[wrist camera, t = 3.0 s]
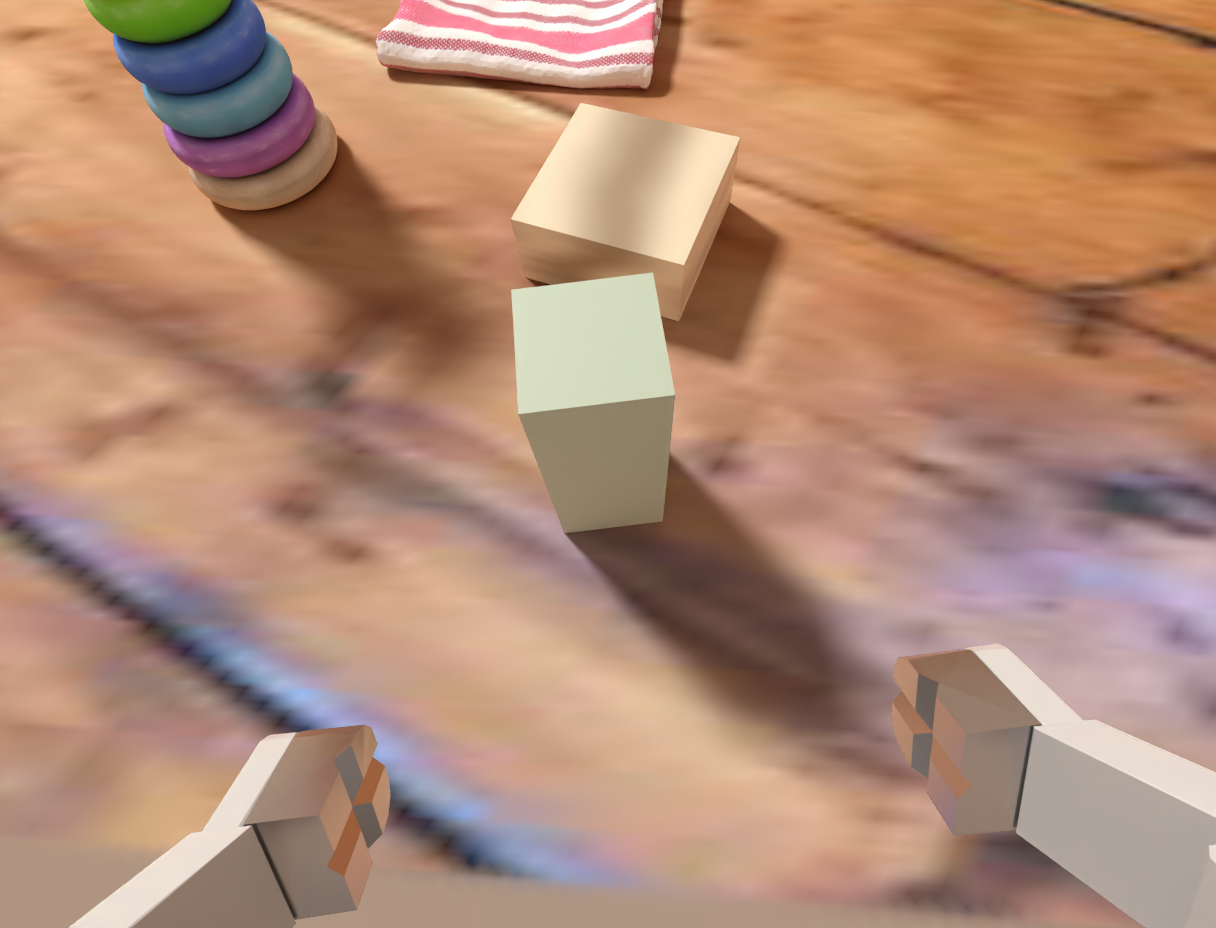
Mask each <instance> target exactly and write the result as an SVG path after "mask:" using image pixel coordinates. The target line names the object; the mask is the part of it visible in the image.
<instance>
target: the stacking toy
mask: <svg viewBox="0 0 1216 928" xmlns="http://www.w3.org/2000/svg"><path fill="white" fill-rule="evenodd" d="M84 2H85V4H86V6H87V8H88V10H89V11H90V12H91V14H92V15H93V17H94V18H95V19H96V20H97V21H98V22H99V23H100V24H101V25H102V26H104V27H105V28H106V29H108V30H109V31H110V32H112V33H113V41H114V47H115V51H116V53H117V55H118V57H119V60H120V61H121V63H122V64H123V66H124V67H125V68H126V69H127V71H128V72H129V73H130V74H131V75H132V76H133V77H135V78H136V79H137V80H138V81H140V82H141V83H142V87H143V94H144V96H145V99H146V101H147V103H148V105H149V107H150V108H151V110H152V111H153V112H154V113H155V115H156V116H157V117H158V118H159V119H160V120H161V121H162V122H163V123H164V133H165V137H166V140H167V142H168V144H169V146H170V148H171V149H172V151H173V152H174V153H175V155H176V156H177V157H178V158H179V159H180V160H181V161H182V162H183V163H185V164H186V165H188V169H189V173H190V175H191V178H192V180H193V181H194V183H195V184H196V186H197V187H198V188H199V190H200V191H201V192H202V193H203V194H205V195H206V196H207V197H208V198H209V199H211V200H212V201H214V202H216V203H218V204H220V205H223V206H225V207H229V208H233V209H239V210H262V209H268V208H273V207H277V206H280V205H283V204H286V203H289V202H291V201H293V200H295V199H297V198H299V197H301V196H303V195H304V194H306V193H307V192H309V191H311V190H312V189H313V188H314V187H315V186H317V185H318V184H319V183H320V182H321V181H322V180H323V179H324V178H325V176H326V175H327V174H328V172H329V171H330V169H331V167H332V165H333V163H334V161H335V158H336V154H337V147H338V144H337V135H336V131H335V128H334V126H333V124H332V122H331V120H330V119H329V117H328V116H327V115H326V113H325V112H324V111H323V110H322V109H321V108H319V107H318V106H317V105H315V104H314V103H313V100H312V97H311V95H310V93H309V91H308V90H307V88H306V86H305V85H304V83H303V82H302V81H301V80H300V79H299V78H298V77H297V76H296V75H295V74H293V72H292V65H291V62H290V59H289V56H288V54H287V52H286V51H285V49H284V47H283V46H282V45H281V43H280V42H279V41H278V40H277V39H276V38H275V37H274V36H273V35H271V34H270V33H269V32H267V31H266V29H265V24H264V20H263V18H262V15H261V13H260V11H259V10H258V8H257V6H256V5H255V4H254V2H253V1H252V0H84Z"/></svg>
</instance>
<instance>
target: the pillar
mask: <svg viewBox="0 0 1216 928" xmlns="http://www.w3.org/2000/svg"><path fill="white" fill-rule="evenodd" d="M511 291H512V309H513V327H514V345H515V363H516V380H517V398H518V414H519V417H520V420H521V422H522V425H523V427H524V430H525V433H526V435H527V438H528V440H529V443H530V445H531V448H532V451H533V453H534V456H535V458H536V461H537V464H538V466H539V469H540V471H541V474H542V476H543V479H544V482H545V484H546V487H547V489H548V492H549V494H550V497H551V500H552V502H553V505H554V507H555V510H556V513H557V515H558V518H559V520H560V523H561V525H562V528H563V531H564V533H572V532H581V531H589V530H597V529H605V528H613V527H622V526H630V525H638V524H646V523H655V522H663V515H664V504H665V494H666V484H667V473H668V463H669V453H670V442H671V432H672V422H673V411H674V401H675V392H674V386H673V381H672V375H671V370H670V364H669V359H668V353H667V347H666V342H665V336H664V331H663V325H662V320H661V314H660V309H659V303H658V298H657V292H656V286H655V281H654V275H653V273H645V274H637V275H629V276H621V277H612V278H604V279H596V280H588V281H580V282H572V283H563V284H555V285H547V286H539V287H531V288H523V289H514V290H511Z"/></svg>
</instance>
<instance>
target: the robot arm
mask: <svg viewBox="0 0 1216 928" xmlns="http://www.w3.org/2000/svg"><path fill="white" fill-rule="evenodd" d="M894 680H895V682H896V683H897V685H898V686H899V687H900V689H901V690H902V691H901V692H900V693H899V694H898V696H897V697H896V698H895V699H894V701H893V702H892V723H893V727H894V732H895V736H896V740H897V742H898V744H899V747H900V749H901V751H902V753H903V755H904V757H905V758H906V760H907V762H908V763H909V765H910V767H911V768H913V769H914V770H916V771H918V772H919V773H921V774H922V775H924V776H926V777H927V778H928V790H927V794H928V795H929V797H930V799H931V800H932V802H933V803H934V805H935V807H936V808H937V810H938V811H939V813H940V814H941V816H942V818H943V819H944V821H945V822H946V824H947V826H948V827H949V829H950V830H951V832H952V833H953V835H962V834H973V833H983V832H994V831H1004V830H1015V829H1017V830H1016V833H1017V834H1018V835H1020V836H1021V837H1023V838H1024V839H1025V840H1027V841H1028V842H1029V843H1031V844H1032V845H1033V846H1035V847H1036V848H1038V849H1039V850H1040V851H1042V852H1043V853H1044V854H1046V855H1047V856H1048V857H1050V858H1051V859H1053V860H1054V861H1055V862H1057V863H1058V864H1059V865H1061V866H1062V867H1063V868H1065V869H1066V870H1068V871H1069V872H1070V873H1072V874H1073V875H1074V876H1076V877H1077V878H1078V879H1080V880H1081V881H1083V882H1084V883H1085V884H1087V885H1088V886H1089V887H1091V888H1092V889H1093V890H1095V891H1096V892H1098V893H1099V894H1100V895H1102V896H1103V897H1104V898H1106V899H1107V900H1108V901H1110V902H1111V903H1113V904H1114V905H1115V906H1117V907H1118V908H1119V909H1121V910H1122V911H1123V912H1125V913H1126V914H1128V915H1129V916H1130V917H1132V918H1133V919H1134V920H1136V921H1137V922H1138V923H1140V924H1141V925H1143V926H1144V927H1145V928H1216V772H1213V771H1211V770H1209V769H1207V768H1204V767H1202V766H1200V765H1197V764H1195V763H1193V762H1191V761H1188V760H1186V759H1184V758H1181V757H1179V756H1177V755H1175V754H1172V753H1170V752H1168V751H1165V750H1163V749H1161V748H1159V747H1156V746H1154V745H1152V744H1149V743H1147V742H1145V741H1143V740H1140V739H1138V738H1136V737H1133V736H1131V735H1129V734H1127V733H1124V732H1122V731H1120V730H1118V729H1115V728H1113V727H1111V726H1108V725H1106V724H1104V723H1102V722H1099V721H1097V720H1086V721H1083V720H1082V719H1081V718H1080V717H1079V716H1078V715H1077V714H1076V713H1075V712H1074V711H1073V710H1072V709H1071V708H1070V707H1069V706H1068V705H1067V704H1066V703H1065V702H1064V701H1062V700H1061V699H1060V698H1059V697H1058V696H1057V695H1056V694H1055V693H1054V692H1053V691H1052V690H1051V689H1050V688H1049V687H1048V686H1047V685H1046V684H1045V683H1044V682H1042V681H1041V680H1040V679H1039V678H1038V677H1037V676H1036V675H1035V674H1034V673H1033V672H1032V671H1031V670H1030V669H1029V668H1028V667H1027V666H1026V665H1025V664H1024V663H1022V662H1021V661H1020V660H1019V659H1018V658H1017V657H1016V656H1015V655H1014V654H1013V653H1012V652H1011V651H1010V650H1009V649H1008V648H1006V647H1005V646H1002V645H1000V644H998V643H996V644H989V645H982V646H975V647H969V648H964V649H958V650H951V651H943V652H936V653H928V654H921V655H914V656H906V657H899V658H898V659H897V662H896V664H895V667H894ZM376 747H377V741H376V739H375V736H374V733H373V731H372V728H371V727H369V726H366V725H358V726H348V727H338V728H329V729H319V730H309V731H301V732H296V733H286V734H276V735H269V736H268V737H266V738H265V739H263V740H262V741H260V742H259V744H258V745H257V747H256V748H255V750H254V751H253V753H252V755H251V756H250V758H249V759H248V761H247V762H246V764H245V765H244V767H243V769H242V770H241V772H240V773H239V775H238V776H237V778H236V779H235V781H234V783H233V784H232V786H231V787H230V789H229V790H228V792H227V793H226V795H225V797H224V798H223V800H222V801H221V803H220V804H219V806H218V807H217V809H216V811H215V812H214V814H213V815H212V817H211V818H210V820H209V821H208V823H207V825H206V826H205V828H204V829H203V831H202V832H196V833H191V834H189V835H188V836H187V837H185V838H184V839H183V840H182V841H180V842H179V843H178V844H176V845H175V846H174V847H172V848H171V849H170V850H169V851H167V852H166V853H165V854H163V855H162V856H161V857H159V858H158V859H157V860H156V861H154V862H153V863H152V864H150V865H149V866H148V867H147V868H145V869H144V870H143V871H141V872H140V873H139V874H138V875H136V876H135V877H134V878H132V879H131V880H130V881H128V882H127V883H126V884H125V885H123V886H122V887H121V888H119V889H118V890H117V891H115V892H114V893H113V894H112V895H110V896H109V897H108V898H106V899H105V900H104V901H102V902H101V903H100V904H99V905H97V906H96V907H95V908H93V909H92V910H91V911H89V912H88V913H87V914H86V915H84V916H83V917H82V918H81V919H79V920H78V921H76V922H75V923H74V924H73V925H71V926H70V927H69V928H293V927H294V925H295V924H296V922H295V920H297V919H303V918H310V917H316V916H323V915H329V914H335V913H341V912H348V911H354V910H357V909H358V905H359V903H360V900H361V896H362V894H363V891H364V888H365V885H366V882H367V879H368V876H369V873H370V870H371V867H372V864H373V862H372V859H371V856H370V854H369V851H368V848H369V847H370V846H371V845H372V844H373V843H374V842H375V841H376V840H377V839H378V838H379V837H380V836H381V835H382V834H383V831H384V828H385V824H386V821H387V818H388V813H389V804H390V785H389V778H388V774H387V771H386V768H385V766H384V765H383V764H381V763H380V762H379V761H377V760H376V759H374V758H373V754H374V752H375V749H376Z"/></svg>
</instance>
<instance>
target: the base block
mask: <svg viewBox="0 0 1216 928" xmlns="http://www.w3.org/2000/svg"><path fill="white" fill-rule="evenodd" d="M739 142H740V137H735V136H731V135H726V134H721V133H717V132H712V131H708V130H703V129H698V128H694V127H689V126H685V125H680V124H675V123H671V122H666V121H662V120H657V119H652V118H648V117H643V116H639V115H634V114H629V113H625V112H620V111H616V110H611V109H606V108H602V107H597V106H593V105H588V104H583V103H581V104H580V105H579V107H578V109H577V110H576V112H575V114H574V115H573V117H572V119H571V120H570V122H569V124H568V125H567V127H566V129H565V130H564V132H563V134H562V135H561V137H560V139H559V140H558V142H557V143H556V145H555V147H554V148H553V150H552V152H551V153H550V155H549V157H548V158H547V160H546V162H545V163H544V165H543V167H542V168H541V170H540V172H539V173H538V175H537V177H536V178H535V180H534V182H533V183H532V185H531V187H530V188H529V190H528V191H527V193H526V195H525V196H524V198H523V200H522V201H521V203H520V205H519V206H518V208H517V210H516V211H515V213H514V215H513V216H512V218H511V222H512V226H513V230H514V234H515V238H516V242H517V245H518V249H519V253H520V257H521V261H522V265H523V269H524V273H525V277H526V278H529V279H533V280H536V281H540V282H543V283H547V284H550V285H555V284H563V283H572V282H580V281H588V280H596V279H604V278H612V277H621V276H629V275H637V274H645V273H653V275H654V281H655V286H656V292H657V298H658V303H659V309H660V314H661V316H662V317H665V318H669V319H672V320H676V321H680V318H681V316H682V314H683V311H684V309H685V306H686V304H687V302H688V299H689V297H690V295H691V292H692V290H693V288H694V285H695V283H696V281H697V278H698V276H699V274H700V271H701V269H702V266H703V264H704V262H705V259H706V257H707V255H708V252H709V250H710V248H711V245H712V243H713V241H714V238H715V236H716V234H717V231H718V229H719V226H720V224H721V222H722V219H723V217H724V215H725V212H726V210H727V208H728V205H729V203H730V198H731V192H732V185H733V179H734V173H735V167H736V161H737V154H738V148H739Z"/></svg>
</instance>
